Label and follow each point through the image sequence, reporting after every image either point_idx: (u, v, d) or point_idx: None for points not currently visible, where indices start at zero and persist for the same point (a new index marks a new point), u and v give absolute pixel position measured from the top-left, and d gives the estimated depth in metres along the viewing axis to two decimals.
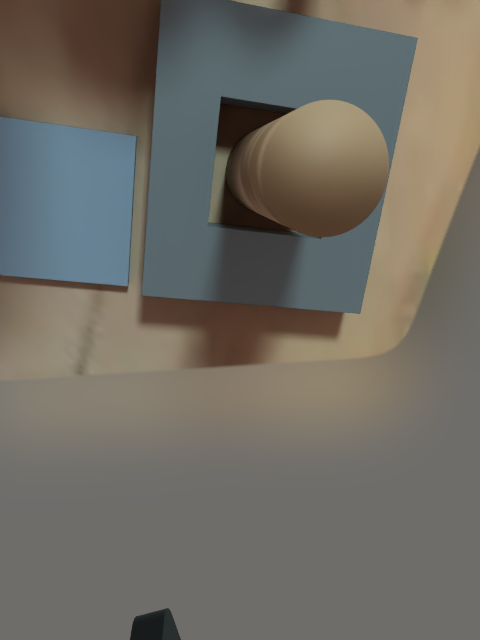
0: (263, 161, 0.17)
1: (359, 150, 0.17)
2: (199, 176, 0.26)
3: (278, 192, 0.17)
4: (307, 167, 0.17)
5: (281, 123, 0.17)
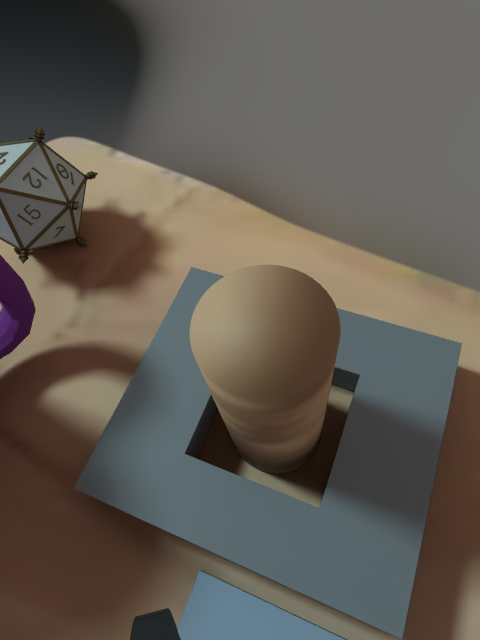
0: (234, 393, 0.14)
1: (250, 291, 0.16)
2: (259, 502, 0.21)
3: (273, 383, 0.14)
4: (253, 346, 0.15)
5: (200, 366, 0.15)
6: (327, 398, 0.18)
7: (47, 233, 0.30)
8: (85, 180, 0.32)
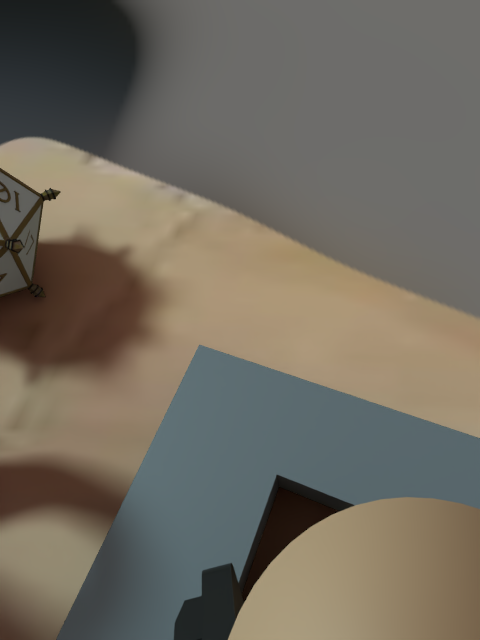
0: None
1: (387, 598, 0.05)
2: None
3: None
4: None
5: None
6: None
7: None
8: (41, 202, 0.22)
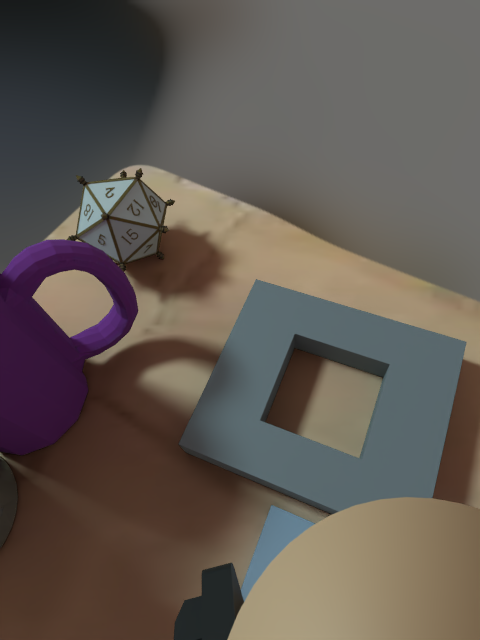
0: None
1: (386, 599, 0.05)
2: (317, 454, 0.30)
3: None
4: None
5: None
6: None
7: (140, 250, 0.38)
8: (166, 206, 0.40)
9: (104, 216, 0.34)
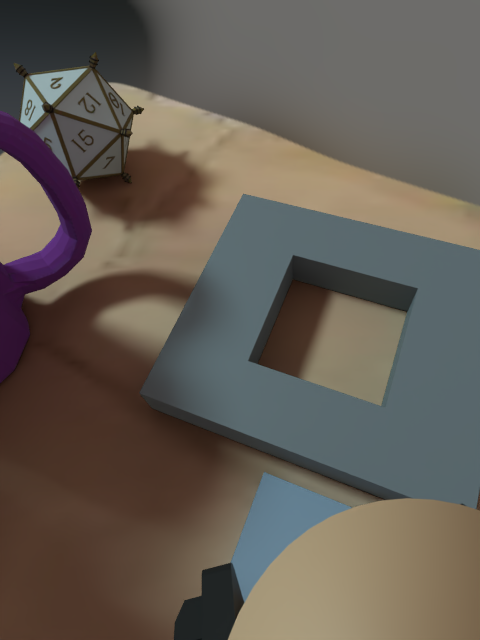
0: None
1: (386, 600, 0.05)
2: (325, 402, 0.22)
3: None
4: None
5: None
6: None
7: (98, 162, 0.30)
8: (132, 114, 0.32)
9: (46, 106, 0.26)
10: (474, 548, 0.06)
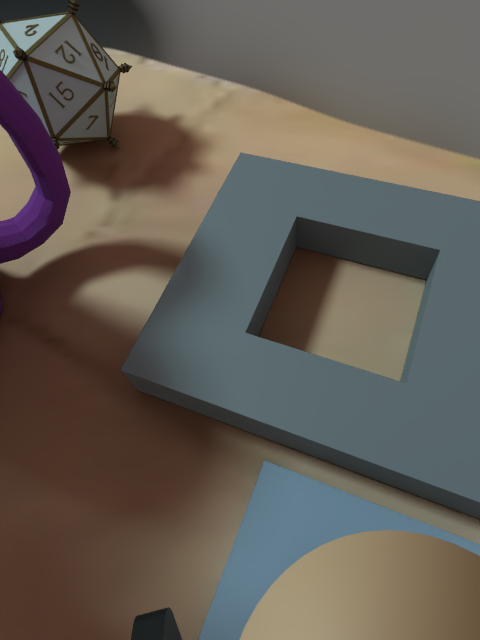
0: None
1: (367, 616, 0.06)
2: (335, 378, 0.19)
3: None
4: None
5: None
6: None
7: (79, 121, 0.27)
8: (119, 72, 0.29)
9: (17, 51, 0.23)
10: (440, 573, 0.07)
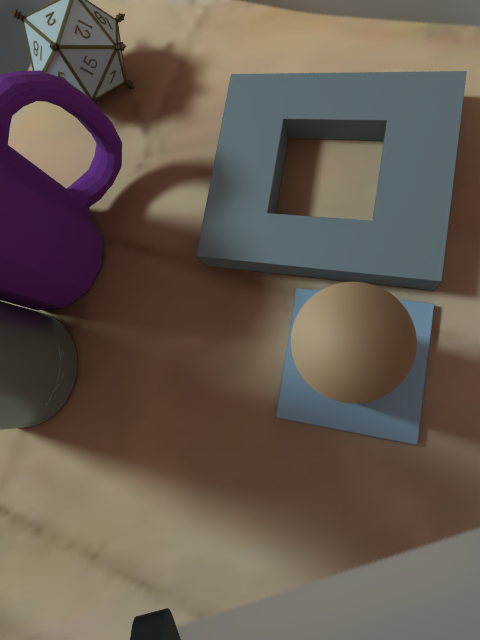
0: None
1: (332, 311, 0.19)
2: (328, 228, 0.30)
3: (370, 388, 0.18)
4: (347, 360, 0.19)
5: (309, 384, 0.19)
6: None
7: (105, 80, 0.35)
8: (117, 23, 0.36)
9: (53, 46, 0.32)
10: (356, 292, 0.19)
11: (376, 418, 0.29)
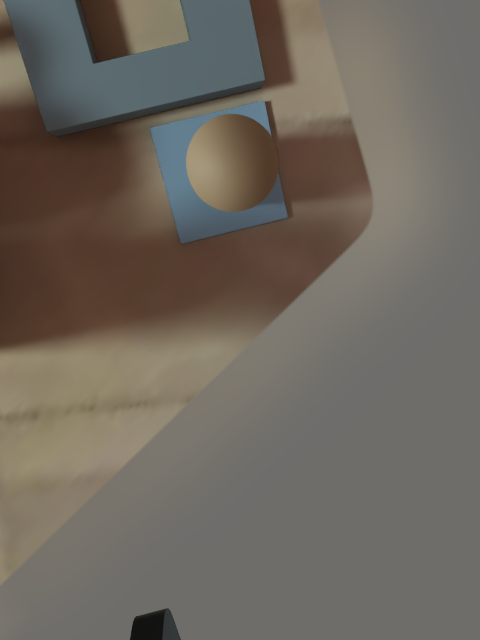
0: (242, 210, 0.25)
1: (211, 146, 0.24)
2: (156, 61, 0.32)
3: (257, 193, 0.25)
4: (235, 179, 0.25)
5: (216, 208, 0.25)
6: None
7: None
8: None
9: None
10: (222, 124, 0.24)
11: (254, 211, 0.37)
